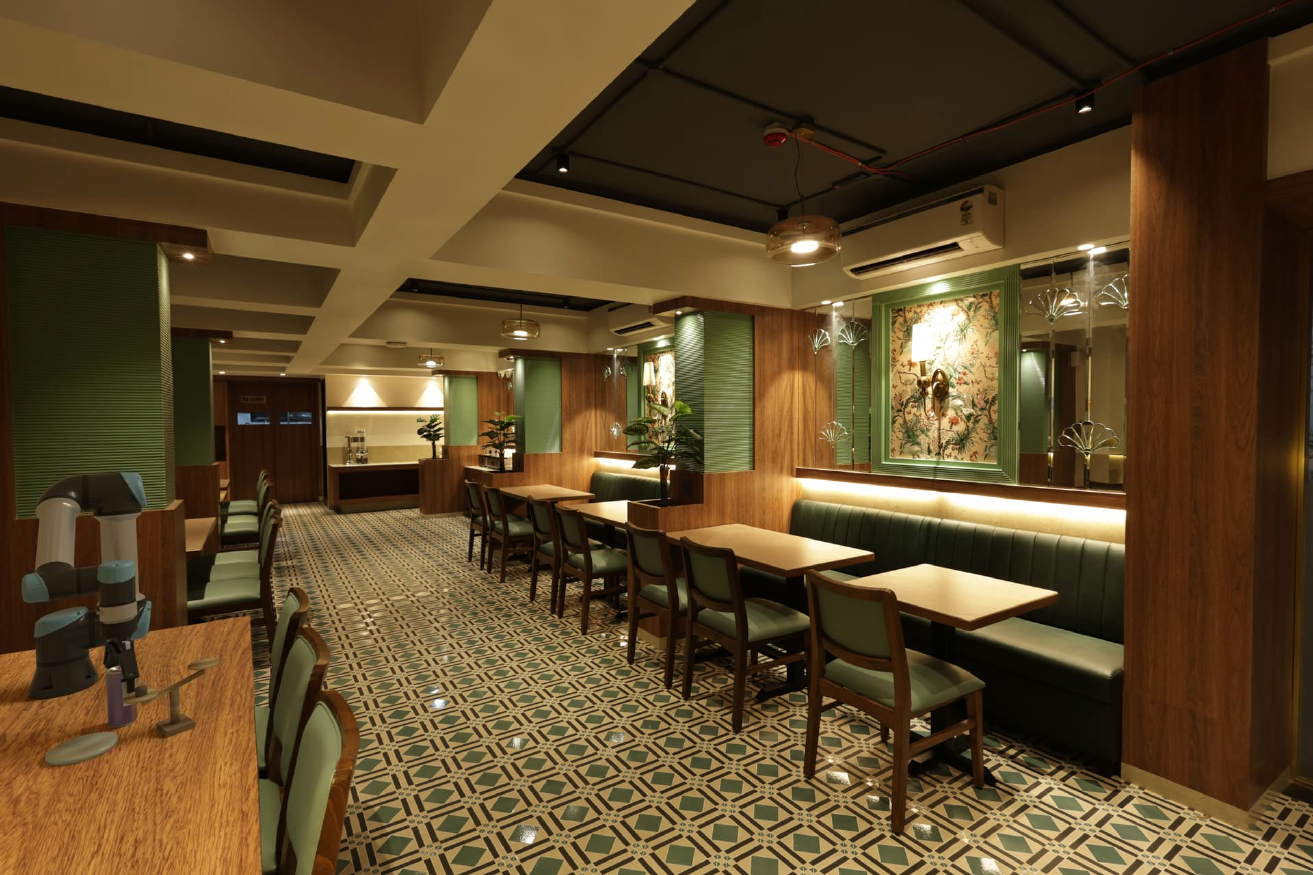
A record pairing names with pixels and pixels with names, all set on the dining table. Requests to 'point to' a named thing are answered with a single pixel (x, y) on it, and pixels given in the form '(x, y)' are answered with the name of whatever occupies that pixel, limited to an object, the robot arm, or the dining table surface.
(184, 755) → the dining table surface
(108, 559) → the robot arm
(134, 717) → the beverage can
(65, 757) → the dish
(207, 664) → the balance
